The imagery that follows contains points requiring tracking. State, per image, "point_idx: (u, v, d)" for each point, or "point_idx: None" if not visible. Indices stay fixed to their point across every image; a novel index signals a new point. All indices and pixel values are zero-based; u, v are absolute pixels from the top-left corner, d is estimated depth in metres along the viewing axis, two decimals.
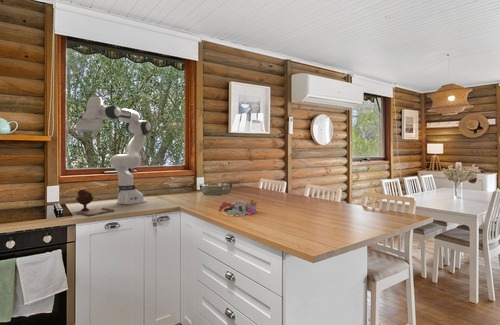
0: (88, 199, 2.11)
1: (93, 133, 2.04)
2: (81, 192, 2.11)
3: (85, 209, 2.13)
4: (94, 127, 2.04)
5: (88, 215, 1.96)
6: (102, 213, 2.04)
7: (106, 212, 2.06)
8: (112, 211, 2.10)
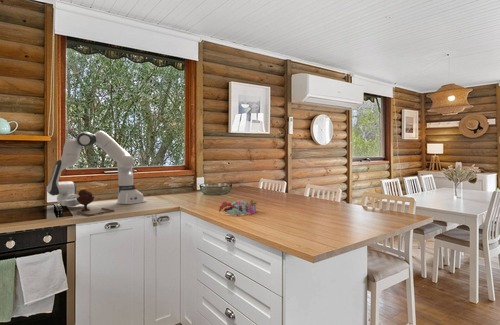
0: (88, 199, 2.10)
1: (78, 203, 2.16)
2: (81, 192, 2.10)
3: (85, 209, 2.12)
4: (68, 205, 2.14)
5: (88, 215, 1.96)
6: (102, 213, 2.04)
7: (106, 212, 2.06)
8: (112, 211, 2.10)
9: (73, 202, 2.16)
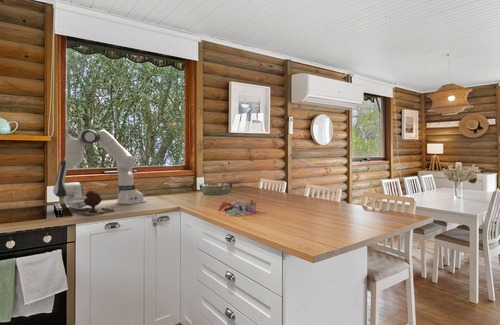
0: (96, 201, 2.04)
1: (82, 205, 2.08)
2: (89, 193, 2.04)
3: (93, 211, 2.06)
4: None
5: (88, 215, 1.96)
6: (102, 213, 2.04)
7: (106, 212, 2.06)
8: (112, 211, 2.10)
9: None
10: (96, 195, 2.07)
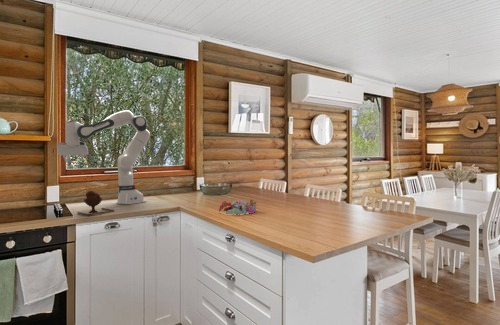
0: (96, 201, 2.04)
1: (64, 158, 2.25)
2: (89, 193, 2.04)
3: (93, 211, 2.06)
4: None
5: (88, 215, 1.96)
6: (102, 213, 2.04)
7: (106, 212, 2.06)
8: (112, 211, 2.10)
9: None
10: (96, 195, 2.07)
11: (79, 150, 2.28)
